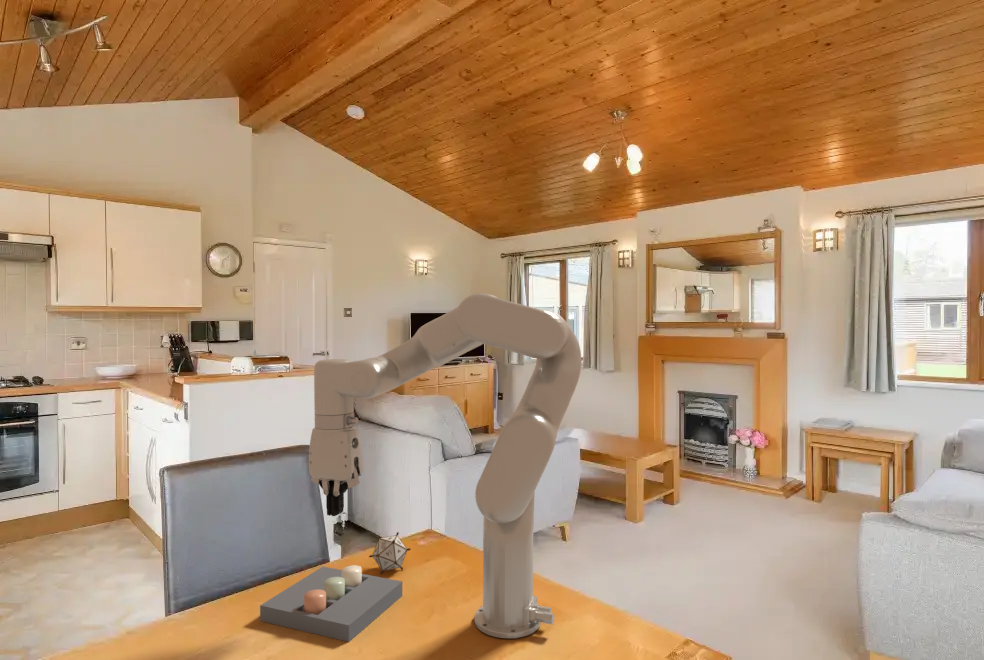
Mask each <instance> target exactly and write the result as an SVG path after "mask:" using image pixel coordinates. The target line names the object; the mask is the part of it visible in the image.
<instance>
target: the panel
mask: <svg viewBox="0 0 984 660" xmlns="http://www.w3.org/2000/svg"><path fill="white" fill-rule="evenodd" d="M331 577H342V569H337V568H334V567H333V568H332V567H327V566H321V567H319V568H318V569H316V570H314V571H313V572H311V573H309V574H308V575H306V576H305V577H304V578H302V579H300V580H299V581H296V582H295V583H294V584H292V585H291V586H289V587H288V588H286V589H284V590H283V591H281V592H279V593H278V594H276V595H275V596H273V597H271V598H269V599H267V601H265V602H264V603H262V604H260V605H259V610H260V611H259V612H260V614H259V615H260V616H259V617H260V618H259V621H260V622H264V623H268V624H272V625H276V626H279V627H280V626H281V627H285V628H289V629H293V630H298V631H302V632H305V633H310V634H314V635H319V636H322V637H327V638H330V639H334V640H339V641H344V642H347V643H350V642H351V641H352V640H353V639H354V638H355V637H357V636H358V635H359V634H360V633H362V632H363V630H365V629H366V628H367V627H368V626H369V625H370V624H371V623H372V622H374V621H375V620H377V618H379V616H381V615H382V614H384V612H386V611H387V609H389V608H390V607H391V606H392V605H393V604H395V603H396V602H397V601H398V600H399V599H400V598H402V597H403V581H402V580H397V579H392V578H386V577H380V576H377V575H376V576H375V575H371V574H365V573H362V583H361V584H359V585H358V586H357V587H350V586H345V595H344V596H343V597H342V598H340V599H339V600H338V601H337V600H332V599H327V598H326V609H325V610H324V611H323V612H321V613H320V614H318V615H315V614H311V613H307V612H304V594H305V593H306V592H308V591H311V590H316V589H320V590H324V581H325V580H326V579H328V578H331Z"/></svg>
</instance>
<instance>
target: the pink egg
mask: <svg viewBox="0 0 984 660" xmlns="http://www.w3.org/2000/svg"><path fill="white" fill-rule="evenodd" d="M325 609H326V592H325V591H324V590H320V589H316V590H311V591H308V592H306V593H305V594H304V612H307V613H311V614H315V615H318V614H320V613H321V612H323V611H324V610H325Z"/></svg>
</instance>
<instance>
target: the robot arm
mask: <svg viewBox="0 0 984 660" xmlns="http://www.w3.org/2000/svg"><path fill="white" fill-rule="evenodd" d="M482 345H487V346H490V347H493V348H498V349H501V350H505V351H507V352H512V353H514V354H518V355H522V356H526V357H530V358H533V359H536V361H535V363H536V364H535V366H534V370H533V371H532V374H531V376H530V378H529V379H528V383H527V385H526V388H525V391H524V393H523V395H522V397H521V399H520V401H519V402H518V404H517V407H516V409H515V410H514V412H513V413H512V414H511V416H510V417H509V418H508V419H507V421H506V422H505V423H504V425H503V427H502V429H501V431H500V434H499V436H498V437H497V440H496V442H495V444H494V446H493V448H492V450H491V453H490V455H489V458H488V459H487V462H486V464H485V466H484V468H483V470H482V472H481V474H480V477H479V479H478V481H477V484H476V488H475V495H474V497H475V503H476V506H477V508H478V511H479V512H480V514H482V516H483V523H482V524H483V528H482V529H483V530H482V532H483V534H482V538H483V539H482V605H481V606H480V607H479V608H478V609H477V610H476V611H475V614H474V625H475V627H476V628H477V629H479V631H480V632H482V633H484V634H486V635H487V636H490V637H494V638H499V639H519V638H524V637H526V636H529V635H532V634H534V633H536V631H537V630H539V628H540V627H541V623H543V624H547V625H553V624H554V622H555V613H553V612H552V607H549V606H542V605H540V604H539V603H538V596H537V595H534V517H535V516H534V515H535V514H534V513H535V493H536V489H537V487H538V485H539V484H540V483H539V482H540V480H541V478H542V476H543V475H544V471H545V470H546V468H547V466H548V464H549V461H550V458H551V456H552V454H553V451H554V448H555V445H556V441H557V437H558V431H559V429H560V425H561V423H562V421H563V419H564V416H565V414H566V412H567V410H568V408H569V404H570V402H571V400H572V398H573V395H574V393H575V391H576V387H577V385H578V382H579V379H580V375H581V370H582V353H581V347H580V342H579V340H578V339H577V336H576V334H575V332H574V331H573V329H572V328H571V326H570V325H569V324H568V322H567V321H566V320H565V319H564V318H563V317H562V316H561V315H560V314H558V313H557V312H555V311H550V310H545V309H540V308H537V307H533V306H529V305H525V304H521V303H516V302H514V301H510V300H506V299H504V298H499V297H498V296H496V295H493V294H489V293H484V292H479V293H478V292H477V293H473V294H470V295H468V296H467V297H465V298H464V299H463V300H462V301H461V302H460V304H459V305H458V306H457V307H455V308H454V309H452V310H450V311H448V312H446V313H445V314H442V315H441V316H439V317H437V318H434V319H432V320H431V321H429V322H427V323H425V324H424V325H422V326H420V327H419V328H418V329H417V331H416V332H415V333H414V335H413V336H411V338H409V339H408V340H407V341H405V342H404V343H401V344H399V345H398V346H396V347H394V348H393V349H391V350H388V351H387V352H385V353H383V354H381V355H379V356H374V357H369V358H366V359H361V360H355V361H354V360H353V361H351V360H349V359H343V358H330V359H329V358H327V359H321V360H318V361H317V362H316V363H314V367H313V374H314V375H313V378H314V379H313V382H314V383H313V384H314V385H313V387H314V388H313V390H314V391H313V392H314V393H313V395H314V396H313V397H314V398H313V399H314V400H313V401H314V403H313V404H314V406H313V407H314V427H313V428H312V430H311V435H310V442H309V450H308V451H309V452H308V472H309V475H310V476H311V477H310V481H311V483H314V484H316V485H319V486H320V487H321V489H322V491H323V492H322V493H323V495H324V496H326V501H325V502H326V515H327V516H332V517H336V516H338V515H340V514H342V513H343V512H344V508H345V506H344V505H345V496H344V495H345V493H346V492H347V490H348V489H350V488H356V487H357V486H359V485H360V478H359V477H360V476H362V475H363V471H364V467H363V466H364V465H363V450H362V441H361V437H360V436H361V435H360V433H359V430H358V429H359V428H357V427H355V425H358V423H359V417H355V412H354V410H355V408H354V406H355V403H354V398H356V399H360V400H362V399H363V400H367V399H368V400H369V399H373V398H376V397H378V396H380V395H382V394H387V393H388V392H390V391H393V390H395V389H397V388H399V387H400V386H402V385H404V384H406V383H408V382H410V381H411V380H415V379H416V378H417V377H419V376H421V375H423V374H425V373H427V372H429V371H431V370H434V369H437V368H440V367H442V366H443V365H445V364H447V363H449V362H451V361H453V360H455V359H457V358H459V357H460V356H462V355H465V354H466V353H467V352H470V351H472V350H474V349H476V348H478V347H481V346H482Z"/></svg>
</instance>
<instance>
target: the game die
mask: <svg viewBox="0 0 984 660" xmlns="http://www.w3.org/2000/svg"><path fill="white" fill-rule="evenodd" d="M399 534H400V533H399V531H397V532H396V535H390V536H384V537H380V536H379V535H376V539H378V540H377V543H376V545H375V546H374V547H375V548H374V550H373V552H372V554H370V555H369V556H368V557H369V559H370V558H373V560H374V561H375V563H376V564H377V565H378V567H379V569H380V575H383V573H384V572H385V571H390V570H394V569H398V568H399V569H400V570H401V571H403V570H404V567H403V563H404V559H405V558H406V554H407V552H409V551H411V550H412V548H410V547H409V548H407V547H406V545H405V543H403V541H402V540H401V538H400V536H399Z"/></svg>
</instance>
